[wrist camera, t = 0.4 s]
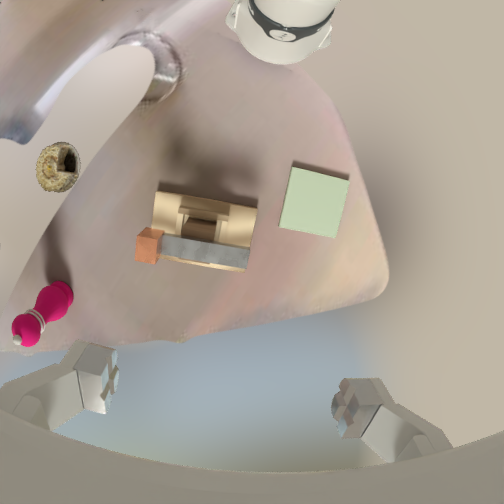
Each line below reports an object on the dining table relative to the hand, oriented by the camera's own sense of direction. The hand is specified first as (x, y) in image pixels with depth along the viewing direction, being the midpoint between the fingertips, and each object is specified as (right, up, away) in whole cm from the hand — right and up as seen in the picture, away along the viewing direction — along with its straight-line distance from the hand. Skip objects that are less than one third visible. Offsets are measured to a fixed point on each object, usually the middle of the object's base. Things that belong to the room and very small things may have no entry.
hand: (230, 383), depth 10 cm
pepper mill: (-41, -4, +48) cm, 63 cm away
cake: (-36, +21, +41) cm, 59 cm away
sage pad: (+12, +14, +46) cm, 49 cm away
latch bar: (-8, +5, +37) cm, 38 cm away
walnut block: (-8, +8, +45) cm, 46 cm away
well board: (-8, +8, +46) cm, 48 cm away
